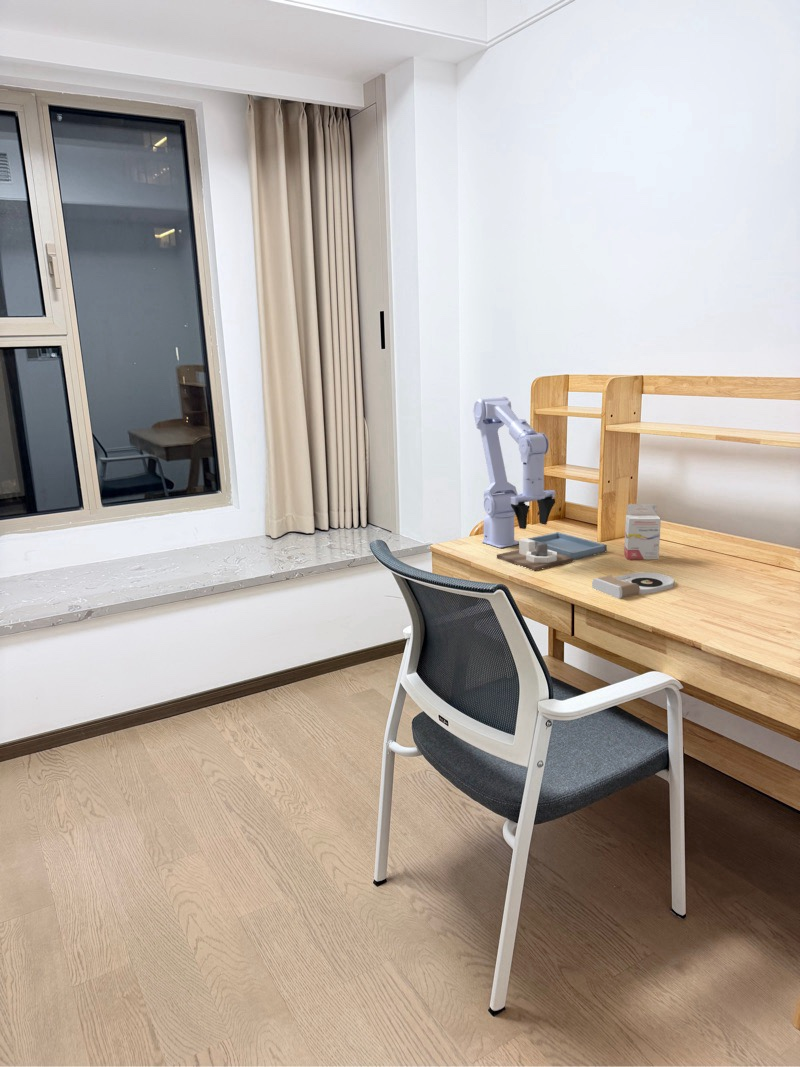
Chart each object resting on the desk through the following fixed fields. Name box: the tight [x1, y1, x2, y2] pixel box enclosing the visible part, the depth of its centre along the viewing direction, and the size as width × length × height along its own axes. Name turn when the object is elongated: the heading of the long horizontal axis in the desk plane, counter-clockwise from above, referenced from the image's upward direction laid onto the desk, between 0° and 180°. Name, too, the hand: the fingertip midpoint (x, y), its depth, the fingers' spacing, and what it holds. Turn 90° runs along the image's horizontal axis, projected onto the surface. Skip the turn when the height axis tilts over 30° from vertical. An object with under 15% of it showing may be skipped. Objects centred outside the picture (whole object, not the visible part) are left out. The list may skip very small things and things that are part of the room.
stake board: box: [496, 543, 574, 571], centre depth 209 cm, size 16×14×5 cm
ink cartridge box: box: [623, 503, 662, 560], centre depth 206 cm, size 9×5×15 cm, turn 84°
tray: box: [527, 531, 608, 561], centre depth 219 cm, size 20×13×2 cm, turn 31°
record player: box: [591, 571, 675, 600], centre depth 184 cm, size 12×3×20 cm
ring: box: [518, 537, 557, 563], centre depth 208 cm, size 12×8×4 cm
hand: (533, 526), depth 209 cm, fingers open, 7 cm apart
